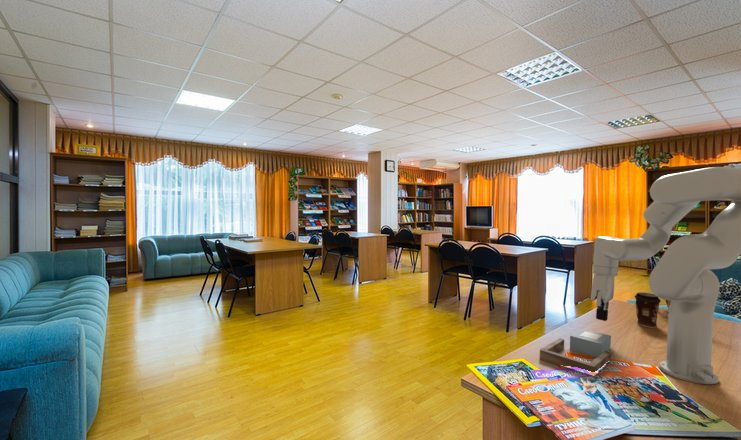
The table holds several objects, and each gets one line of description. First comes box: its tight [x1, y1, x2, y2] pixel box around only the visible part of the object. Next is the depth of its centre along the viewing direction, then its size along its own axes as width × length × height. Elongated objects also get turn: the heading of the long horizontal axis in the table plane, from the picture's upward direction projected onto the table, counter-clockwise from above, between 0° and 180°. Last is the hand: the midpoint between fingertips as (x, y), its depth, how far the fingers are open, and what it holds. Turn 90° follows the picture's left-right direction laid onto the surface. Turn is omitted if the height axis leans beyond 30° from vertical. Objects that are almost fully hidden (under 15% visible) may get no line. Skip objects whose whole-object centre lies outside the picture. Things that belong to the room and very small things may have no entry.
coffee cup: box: [634, 291, 661, 329], centre depth 143 cm, size 9×8×13 cm
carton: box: [569, 328, 612, 358], centre depth 117 cm, size 11×9×5 cm
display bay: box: [539, 337, 612, 372], centre depth 108 cm, size 16×15×3 cm
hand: (601, 319), depth 127 cm, fingers closed
